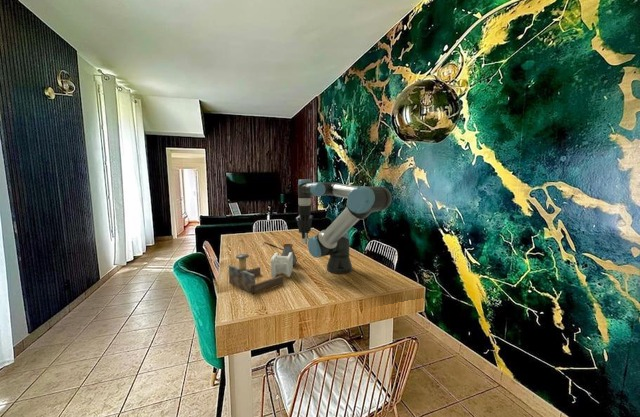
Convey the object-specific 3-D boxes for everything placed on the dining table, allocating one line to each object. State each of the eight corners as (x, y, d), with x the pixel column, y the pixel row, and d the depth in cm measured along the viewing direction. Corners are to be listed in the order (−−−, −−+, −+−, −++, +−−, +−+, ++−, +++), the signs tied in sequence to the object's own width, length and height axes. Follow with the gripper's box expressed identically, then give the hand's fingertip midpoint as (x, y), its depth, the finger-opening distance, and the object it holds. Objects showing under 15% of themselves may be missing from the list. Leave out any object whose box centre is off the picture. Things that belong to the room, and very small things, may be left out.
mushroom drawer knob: (251, 272, 151) (250, 255, 151) (240, 275, 146) (239, 257, 146) (245, 269, 156) (244, 253, 155) (234, 272, 151) (233, 255, 150)
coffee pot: (297, 262, 171) (297, 239, 170) (296, 267, 160) (296, 243, 159) (265, 262, 170) (264, 240, 169) (261, 268, 159) (261, 244, 158)
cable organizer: (289, 279, 140) (289, 258, 138) (270, 279, 140) (269, 258, 139) (293, 270, 154) (292, 251, 153) (275, 270, 155) (274, 251, 154)
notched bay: (283, 283, 134) (282, 266, 133) (252, 294, 121) (252, 275, 120) (259, 273, 149) (258, 258, 148) (229, 282, 136) (228, 265, 135)
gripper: (308, 204, 164) (308, 240, 166) (292, 205, 155) (292, 244, 157) (316, 204, 159) (316, 242, 161) (300, 206, 149) (301, 246, 152)
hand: (304, 243), depth 159 cm, fingers closed
